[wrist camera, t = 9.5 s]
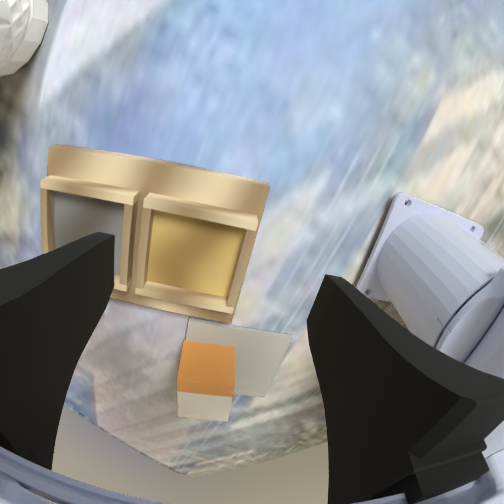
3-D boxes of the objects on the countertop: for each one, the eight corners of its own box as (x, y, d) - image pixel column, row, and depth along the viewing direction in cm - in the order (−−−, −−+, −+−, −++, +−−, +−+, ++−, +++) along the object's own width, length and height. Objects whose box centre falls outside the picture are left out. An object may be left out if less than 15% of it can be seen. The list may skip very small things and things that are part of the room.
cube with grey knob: (234, 385, 20) (227, 422, 22) (234, 346, 24) (227, 386, 26) (176, 379, 20) (177, 417, 22) (183, 340, 23) (183, 381, 25)
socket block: (268, 182, 18) (272, 193, 16) (231, 314, 23) (231, 334, 21) (56, 144, 16) (38, 150, 14) (56, 274, 20) (43, 290, 18)
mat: (291, 334, 24) (292, 337, 23) (263, 394, 27) (263, 397, 27) (189, 317, 23) (188, 320, 22) (178, 381, 26) (178, 384, 26)
